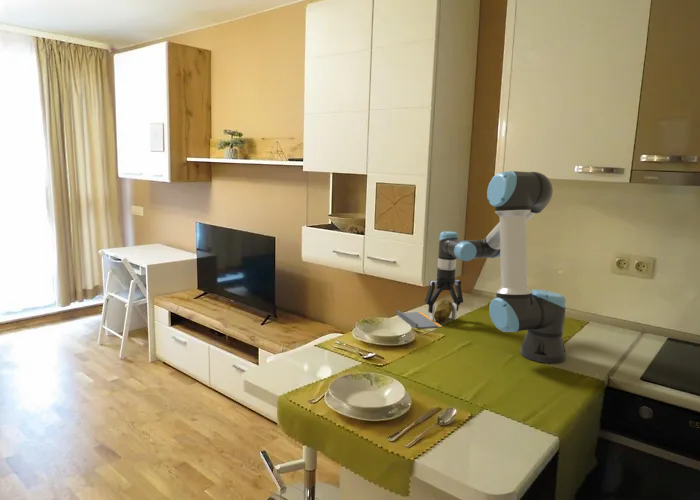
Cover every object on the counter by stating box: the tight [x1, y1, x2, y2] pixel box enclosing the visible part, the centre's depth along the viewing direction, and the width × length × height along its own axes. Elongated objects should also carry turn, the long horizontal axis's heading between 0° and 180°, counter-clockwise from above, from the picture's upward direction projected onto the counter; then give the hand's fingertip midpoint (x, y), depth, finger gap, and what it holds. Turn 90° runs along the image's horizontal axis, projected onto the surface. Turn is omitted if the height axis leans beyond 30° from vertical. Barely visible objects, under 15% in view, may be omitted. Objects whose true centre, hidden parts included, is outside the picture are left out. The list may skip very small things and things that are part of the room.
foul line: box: [418, 311, 443, 328], centre depth 220 cm, size 20×1×1 cm, turn 17°
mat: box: [396, 309, 439, 330], centre depth 218 cm, size 20×10×2 cm, turn 17°
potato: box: [434, 299, 453, 324], centre depth 219 cm, size 8×13×8 cm, turn 142°
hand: (442, 319), depth 220 cm, fingers open, 10 cm apart
